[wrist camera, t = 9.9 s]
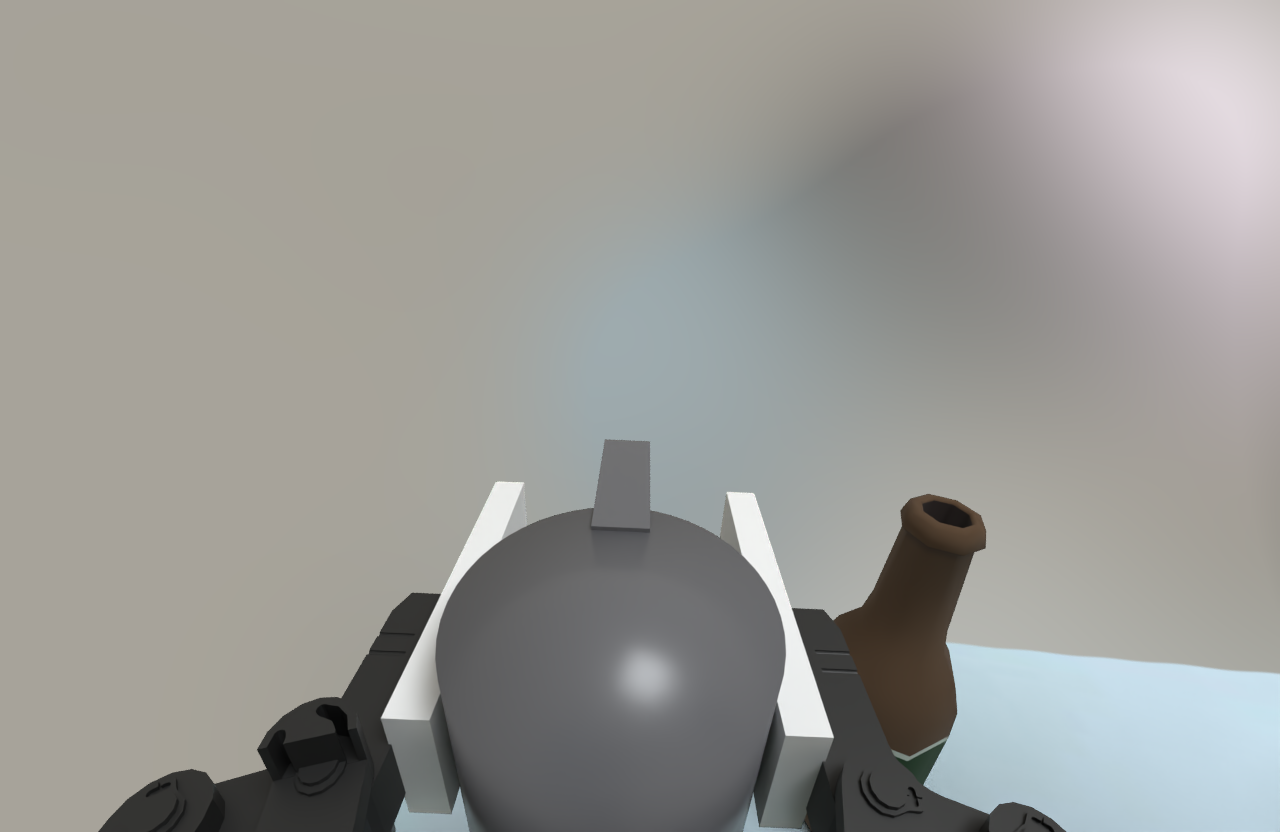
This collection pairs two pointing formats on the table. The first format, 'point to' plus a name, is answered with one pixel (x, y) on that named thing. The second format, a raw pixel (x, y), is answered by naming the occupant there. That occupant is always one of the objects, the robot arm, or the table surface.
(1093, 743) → the table surface
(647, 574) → the pump plunger
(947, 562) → the beer bottle
